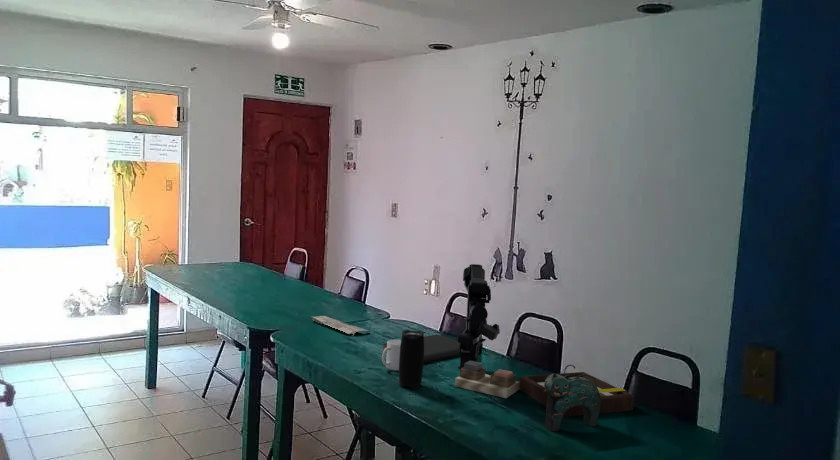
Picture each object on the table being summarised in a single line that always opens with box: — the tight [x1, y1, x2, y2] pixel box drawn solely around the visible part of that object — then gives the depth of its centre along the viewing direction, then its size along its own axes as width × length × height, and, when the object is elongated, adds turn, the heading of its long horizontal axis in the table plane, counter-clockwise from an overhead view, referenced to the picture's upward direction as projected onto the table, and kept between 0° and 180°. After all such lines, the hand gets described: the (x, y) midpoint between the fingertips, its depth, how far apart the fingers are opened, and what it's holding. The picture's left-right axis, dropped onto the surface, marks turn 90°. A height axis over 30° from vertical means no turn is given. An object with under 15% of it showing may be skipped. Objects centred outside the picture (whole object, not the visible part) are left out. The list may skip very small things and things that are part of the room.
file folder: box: [382, 334, 463, 365], centre depth 279 cm, size 33×4×24 cm
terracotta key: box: [493, 368, 514, 379], centre depth 231 cm, size 5×5×3 cm
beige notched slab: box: [310, 315, 371, 336], centre depth 314 cm, size 35×12×4 cm, turn 43°
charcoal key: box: [464, 361, 483, 372], centre depth 237 cm, size 5×5×3 cm
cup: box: [381, 339, 401, 372], centre depth 251 cm, size 8×12×10 cm
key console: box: [454, 367, 520, 399], centre depth 234 cm, size 20×12×6 cm, turn 60°
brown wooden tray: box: [518, 371, 635, 418], centre depth 227 cm, size 28×7×30 cm
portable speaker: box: [398, 329, 425, 390], centre depth 231 cm, size 9×9×20 cm
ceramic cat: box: [544, 364, 601, 433], centre depth 200 cm, size 20×6×20 cm, turn 114°
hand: (473, 358), depth 236 cm, fingers closed
